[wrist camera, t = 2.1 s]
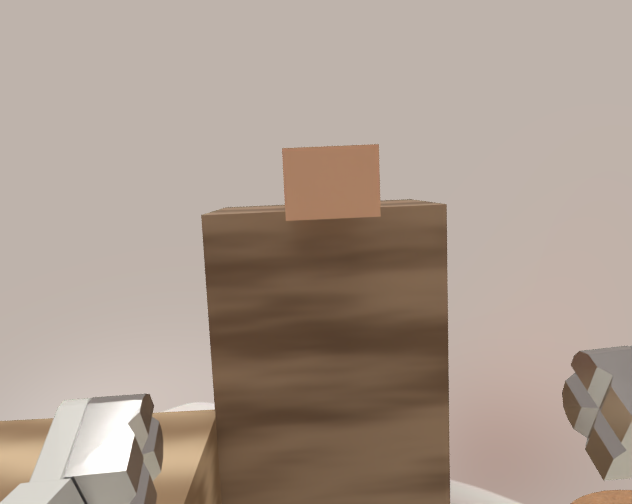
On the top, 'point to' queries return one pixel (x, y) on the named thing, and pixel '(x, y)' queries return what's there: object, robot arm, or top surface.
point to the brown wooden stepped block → (309, 365)
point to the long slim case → (331, 182)
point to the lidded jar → (606, 497)
